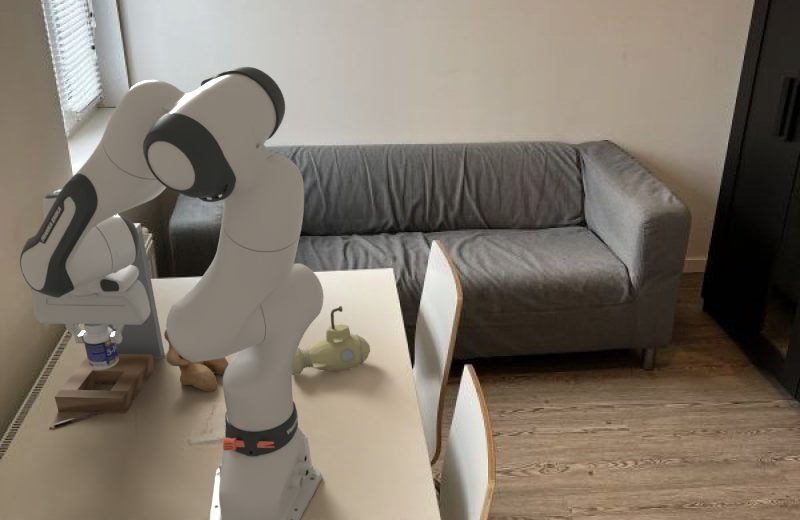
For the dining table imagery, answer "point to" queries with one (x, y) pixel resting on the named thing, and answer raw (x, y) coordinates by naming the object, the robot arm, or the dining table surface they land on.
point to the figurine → (196, 369)
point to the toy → (333, 350)
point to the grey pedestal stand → (148, 333)
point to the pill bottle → (100, 346)
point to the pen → (74, 420)
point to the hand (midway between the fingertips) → (99, 341)
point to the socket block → (122, 375)
